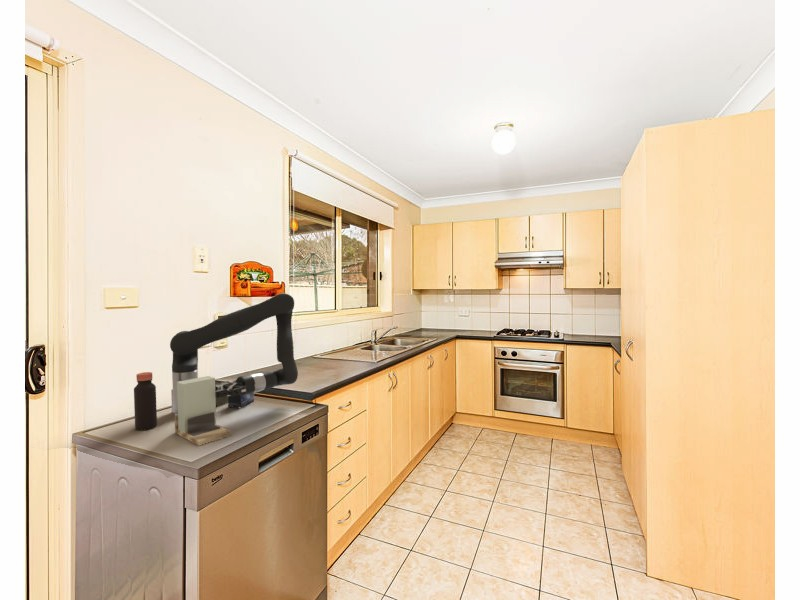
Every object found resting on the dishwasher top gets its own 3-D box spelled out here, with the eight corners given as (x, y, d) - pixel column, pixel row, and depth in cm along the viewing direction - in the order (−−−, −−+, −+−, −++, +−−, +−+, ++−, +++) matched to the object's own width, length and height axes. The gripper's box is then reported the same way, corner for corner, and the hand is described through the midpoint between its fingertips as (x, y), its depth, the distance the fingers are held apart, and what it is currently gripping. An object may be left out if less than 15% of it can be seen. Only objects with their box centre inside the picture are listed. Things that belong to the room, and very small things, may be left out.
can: (227, 405, 172) (226, 389, 171) (197, 406, 170) (197, 391, 169) (234, 397, 183) (234, 382, 183) (207, 398, 182) (206, 384, 181)
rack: (175, 432, 140) (174, 414, 140) (206, 424, 149) (206, 407, 148) (198, 445, 129) (198, 426, 129) (230, 435, 137) (230, 417, 137)
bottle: (161, 425, 148) (159, 372, 147) (144, 431, 141) (142, 376, 141) (147, 423, 150) (145, 371, 149) (130, 429, 143) (128, 375, 143)
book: (178, 429, 139) (176, 381, 138) (209, 421, 148) (208, 376, 147) (184, 433, 136) (183, 384, 135) (216, 423, 145) (215, 377, 144)
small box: (241, 408, 167) (240, 383, 167) (227, 407, 169) (226, 383, 168) (255, 401, 178) (254, 377, 177) (242, 400, 179) (241, 377, 179)
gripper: (241, 372, 162) (201, 379, 149) (260, 377, 153) (219, 385, 140) (241, 390, 162) (201, 399, 150) (261, 396, 153) (220, 406, 141)
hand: (210, 392), depth 145 cm, fingers open, 8 cm apart
